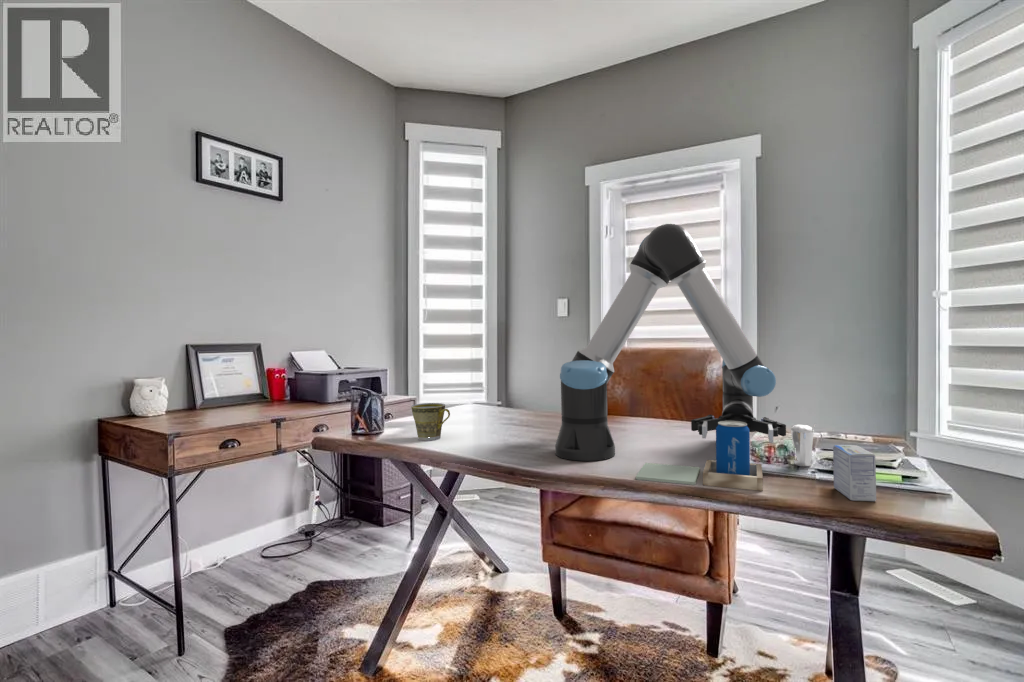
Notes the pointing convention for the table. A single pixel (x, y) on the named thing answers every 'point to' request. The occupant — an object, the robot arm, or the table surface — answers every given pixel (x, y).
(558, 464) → the table surface
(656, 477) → the mat
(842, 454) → the medicine box
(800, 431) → the milkshake
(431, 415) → the ceramic cup
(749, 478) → the crate
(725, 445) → the beverage can
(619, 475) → the table surface
